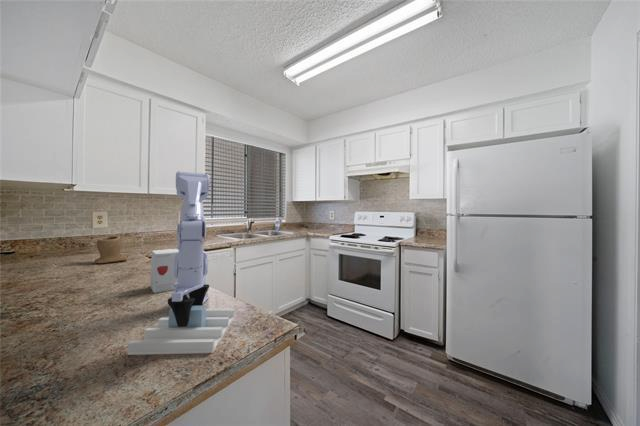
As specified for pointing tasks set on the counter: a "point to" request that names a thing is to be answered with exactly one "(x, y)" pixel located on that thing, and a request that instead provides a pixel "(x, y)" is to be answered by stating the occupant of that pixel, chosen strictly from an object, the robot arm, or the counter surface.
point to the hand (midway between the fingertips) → (189, 319)
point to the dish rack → (184, 336)
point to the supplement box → (163, 270)
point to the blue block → (190, 318)
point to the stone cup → (110, 250)
